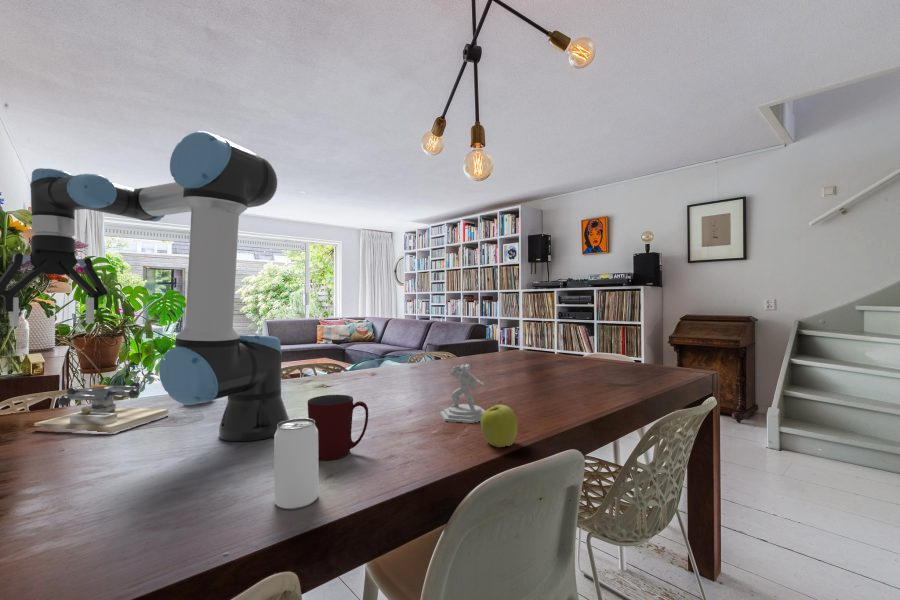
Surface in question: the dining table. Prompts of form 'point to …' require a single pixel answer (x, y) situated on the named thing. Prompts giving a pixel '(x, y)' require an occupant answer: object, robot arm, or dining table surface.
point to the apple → (499, 425)
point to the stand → (104, 419)
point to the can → (296, 463)
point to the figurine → (466, 411)
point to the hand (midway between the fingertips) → (54, 325)
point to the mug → (334, 424)
